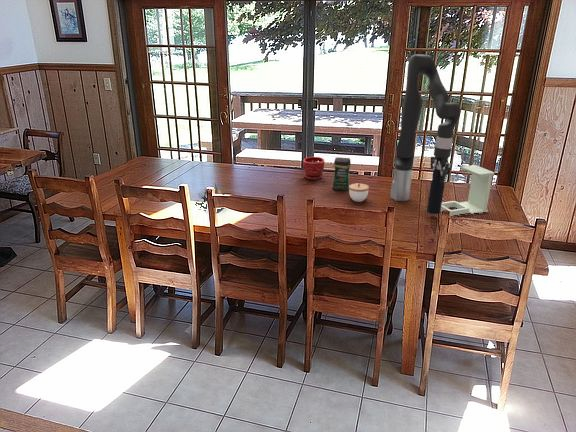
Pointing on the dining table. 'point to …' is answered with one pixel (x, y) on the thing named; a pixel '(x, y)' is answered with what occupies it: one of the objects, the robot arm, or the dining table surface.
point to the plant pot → (313, 167)
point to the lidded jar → (358, 191)
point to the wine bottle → (436, 192)
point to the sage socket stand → (473, 192)
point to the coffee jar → (341, 173)
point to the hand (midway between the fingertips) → (438, 180)
